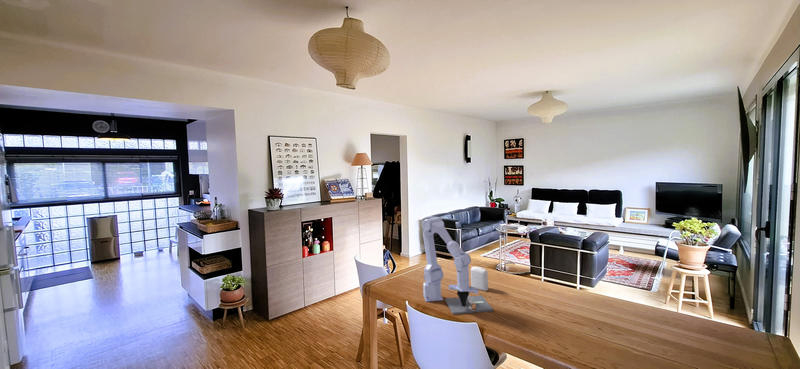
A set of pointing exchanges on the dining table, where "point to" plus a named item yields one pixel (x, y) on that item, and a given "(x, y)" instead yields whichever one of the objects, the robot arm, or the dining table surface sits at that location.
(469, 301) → the lever with ball knob
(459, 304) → the lock plate
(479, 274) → the photo printer
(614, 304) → the dining table surface
